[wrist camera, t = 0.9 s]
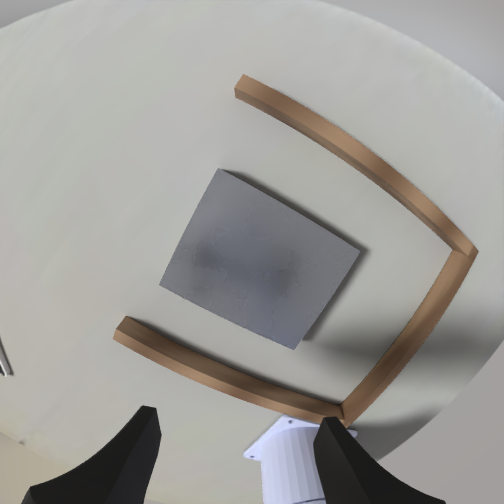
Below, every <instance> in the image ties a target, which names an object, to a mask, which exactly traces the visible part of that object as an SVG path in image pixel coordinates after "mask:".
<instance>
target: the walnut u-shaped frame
mask: <svg viewBox="0 0 504 504" xmlns="http://www.w3.org/2000/svg"><path fill="white" fill-rule="evenodd" d="M234 89H235V97H236V98H238V99H240V100H242V101H244V102H246V103H248V104H250V105H252V106H254V107H256V108H258V109H260V110H261V111H263V112H265V113H267V114H269V115H271V116H273V117H274V118H276V119H278V120H280V121H281V122H283V123H285V124H287V125H288V126H290V127H292V128H294V129H295V130H297V131H299V132H300V133H302V134H304V135H305V136H307V137H309V138H310V139H312V140H313V141H315V142H317V143H318V144H320V145H321V146H323V147H324V148H326V149H327V150H329V151H331V152H332V153H334V154H335V155H337V156H338V157H339V158H341V159H342V160H344V161H345V162H347V163H348V164H350V165H351V166H353V167H354V168H355V169H357V170H358V171H360V172H361V173H362V174H364V175H365V176H366V177H368V178H369V179H371V180H372V181H373V182H375V183H376V184H377V185H379V186H380V187H381V188H382V189H384V190H385V191H386V192H388V193H389V194H390V195H391V196H393V197H394V198H395V199H396V200H398V201H399V202H400V203H401V204H403V205H404V206H405V207H406V208H407V209H409V210H410V211H411V212H412V213H413V214H414V215H416V216H417V217H418V218H419V219H420V220H421V221H423V222H424V223H425V224H426V225H427V226H428V227H429V228H430V229H432V230H433V231H434V232H435V233H436V234H437V235H438V236H439V237H440V238H441V239H442V240H443V241H444V242H446V243H447V244H448V245H449V246H450V247H451V248H452V249H453V250H452V252H451V254H450V256H449V258H448V260H447V262H446V263H445V265H444V267H443V269H442V270H441V272H440V274H439V276H438V277H437V279H436V281H435V282H434V284H433V286H432V287H431V289H430V291H429V292H428V294H427V295H426V297H425V299H424V300H423V302H422V303H421V305H420V306H419V308H418V309H417V311H416V312H415V314H414V315H413V317H412V318H411V320H410V321H409V322H408V324H407V325H406V327H405V328H404V329H403V331H402V332H401V334H400V335H399V336H398V338H397V339H396V340H395V342H394V343H393V344H392V346H391V347H390V348H389V349H388V351H387V352H386V353H385V355H384V356H383V357H382V358H381V360H380V361H379V362H378V363H377V364H376V366H375V367H374V368H373V369H372V370H371V372H370V373H369V374H368V375H367V376H366V377H365V379H364V380H363V381H362V382H361V383H360V384H359V385H358V386H357V388H356V389H355V390H354V391H353V392H352V393H351V394H350V395H349V396H348V397H347V398H346V399H345V400H344V401H343V403H342V404H341V405H340V406H337V405H334V404H330V403H327V402H324V401H320V400H317V399H314V398H311V397H308V396H304V395H301V394H298V393H295V392H292V391H289V390H287V389H284V388H281V387H278V386H275V385H273V384H270V383H267V382H265V381H262V380H259V379H257V378H254V377H252V376H249V375H247V374H244V373H242V372H239V371H237V370H234V369H232V368H230V367H227V366H225V365H223V364H220V363H218V362H216V361H214V360H211V359H209V358H207V357H205V356H202V355H200V354H198V353H196V352H194V351H192V350H190V349H188V348H186V347H184V346H181V345H179V344H177V343H175V342H173V341H171V340H169V339H168V338H166V337H164V336H162V335H160V334H158V333H156V332H154V331H152V330H150V329H149V328H147V327H145V326H143V325H141V324H139V323H138V322H136V321H134V320H132V319H131V318H129V317H127V316H126V317H125V318H124V319H123V321H122V322H121V323H120V324H119V326H118V327H117V328H116V331H115V333H114V336H113V339H114V340H116V341H117V342H119V343H121V344H123V345H124V346H126V347H128V348H130V349H131V350H133V351H135V352H137V353H139V354H141V355H143V356H144V357H146V358H148V359H150V360H152V361H154V362H156V363H158V364H160V365H162V366H164V367H166V368H168V369H170V370H172V371H174V372H177V373H179V374H181V375H183V376H185V377H187V378H190V379H192V380H194V381H196V382H199V383H201V384H203V385H206V386H208V387H211V388H213V389H215V390H218V391H220V392H223V393H226V394H228V395H231V396H233V397H236V398H239V399H241V400H244V401H247V402H250V403H253V404H256V405H259V406H262V407H265V408H268V409H271V410H274V411H277V412H280V413H284V414H287V415H290V416H294V417H297V418H301V419H305V420H309V421H312V422H316V423H320V424H321V422H322V419H323V417H333V416H337V417H338V419H339V420H340V421H341V423H342V424H343V425H344V426H345V428H347V427H348V426H349V425H351V424H352V423H353V422H354V421H355V420H356V419H357V418H358V417H359V416H360V415H361V414H362V413H363V412H364V411H365V410H366V409H367V408H368V407H369V406H370V405H371V404H372V403H373V402H374V401H375V400H376V399H377V398H378V397H379V395H380V394H381V393H382V392H383V391H384V390H385V389H386V388H387V387H388V386H389V384H390V383H391V382H392V381H393V380H394V379H395V378H396V376H397V375H398V374H399V373H400V372H401V370H402V369H403V368H404V367H405V366H406V364H407V363H408V362H409V361H410V359H411V358H412V357H413V356H414V354H415V353H416V352H417V350H418V349H419V348H420V346H421V345H422V344H423V342H424V341H425V340H426V338H427V337H428V336H429V334H430V333H431V331H432V330H433V328H434V327H435V326H436V324H437V323H438V321H439V320H440V318H441V317H442V315H443V314H444V312H445V310H446V309H447V307H448V306H449V304H450V302H451V301H452V299H453V298H454V296H455V294H456V293H457V291H458V289H459V287H460V286H461V284H462V282H463V280H464V279H465V277H466V275H467V273H468V271H469V269H470V267H471V266H472V264H473V262H474V260H475V258H476V256H477V254H478V252H479V251H478V250H477V249H476V248H475V246H474V245H473V244H472V243H471V242H470V241H469V240H468V239H467V238H466V236H465V235H464V234H463V233H462V232H461V231H460V230H459V229H458V228H457V227H456V226H455V225H454V224H453V223H452V222H451V221H450V220H449V219H448V218H447V217H446V216H445V215H444V214H443V213H442V212H441V211H440V210H439V209H438V208H437V207H436V206H435V205H434V204H433V203H432V202H431V201H430V200H429V199H428V198H427V197H426V196H425V195H423V194H422V193H421V192H420V191H419V190H418V189H417V188H416V187H414V186H413V185H412V184H411V183H410V182H409V181H408V180H406V179H405V178H404V177H403V176H402V175H401V174H399V173H398V172H397V171H396V170H394V169H393V168H392V167H391V166H390V165H388V164H387V163H386V162H384V161H383V160H382V159H381V158H379V157H378V156H377V155H375V154H374V153H373V152H372V151H370V150H369V149H367V148H366V147H365V146H363V145H362V144H361V143H359V142H358V141H356V140H355V139H354V138H352V137H351V136H349V135H348V134H347V133H345V132H344V131H342V130H341V129H339V128H338V127H336V126H335V125H333V124H332V123H330V122H329V121H327V120H325V119H324V118H322V117H321V116H319V115H318V114H316V113H314V112H313V111H311V110H309V109H308V108H306V107H304V106H303V105H301V104H299V103H298V102H296V101H294V100H292V99H291V98H289V97H287V96H285V95H283V94H282V93H280V92H278V91H276V90H274V89H272V88H270V87H268V86H266V85H264V84H263V83H261V82H259V81H257V80H255V79H252V78H250V77H248V76H246V75H244V74H243V75H242V77H241V78H240V80H239V81H238V83H237V84H236V86H235V87H234Z"/></svg>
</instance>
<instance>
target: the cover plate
mask: <svg viewBox="0 0 504 504" xmlns="http://www.w3.org/2000/svg"><path fill="white" fill-rule="evenodd" d="M360 252H361V251H359V250H358V249H356V248H355V247H353V246H352V245H350V244H348V243H347V242H345V241H344V240H342V239H341V238H339V237H337V236H336V235H334V234H333V233H331V232H329V231H328V230H326V229H324V228H323V227H321V226H320V225H318V224H316V223H315V222H313V221H311V220H310V219H308V218H306V217H305V216H303V215H301V214H300V213H298V212H296V211H295V210H293V209H291V208H290V207H288V206H286V205H284V204H283V203H281V202H279V201H277V200H276V199H274V198H272V197H270V196H269V195H267V194H265V193H263V192H262V191H260V190H258V189H256V188H255V187H253V186H251V185H249V184H247V183H245V182H244V181H242V180H240V179H238V178H236V177H234V176H233V175H231V174H229V173H227V172H225V171H223V170H221V169H219V168H218V169H217V171H216V173H215V174H214V176H213V178H212V180H211V182H210V184H209V185H208V187H207V189H206V191H205V193H204V195H203V197H202V198H201V200H200V202H199V204H198V206H197V208H196V210H195V212H194V214H193V216H192V218H191V220H190V222H189V224H188V225H187V227H186V229H185V231H184V233H183V235H182V237H181V239H180V242H179V244H178V246H177V248H176V250H175V252H174V254H173V256H172V258H171V260H170V262H169V264H168V267H167V269H166V271H165V273H164V275H163V277H162V279H161V282H160V284H159V285H160V286H162V287H164V288H166V289H168V290H170V291H171V292H173V293H175V294H177V295H179V296H181V297H183V298H185V299H187V300H189V301H190V302H192V303H194V304H196V305H198V306H200V307H202V308H204V309H206V310H208V311H210V312H212V313H214V314H216V315H218V316H220V317H222V318H224V319H227V320H229V321H231V322H233V323H235V324H237V325H239V326H241V327H243V328H246V329H248V330H250V331H252V332H254V333H256V334H259V335H261V336H263V337H265V338H268V339H270V340H272V341H274V342H277V343H279V344H281V345H283V346H286V347H288V348H291V349H293V350H294V349H295V348H296V347H297V345H298V344H299V342H300V341H301V340H302V338H303V337H304V336H305V334H306V333H307V332H308V330H309V329H310V327H311V326H312V325H313V323H314V322H315V320H316V319H317V318H318V316H319V315H320V313H321V312H322V310H323V309H324V307H325V306H326V305H327V303H328V302H329V300H330V299H331V297H332V296H333V294H334V293H335V291H336V290H337V288H338V287H339V285H340V283H341V282H342V280H343V279H344V277H345V276H346V274H347V273H348V271H349V269H350V268H351V266H352V265H353V263H354V261H355V260H356V258H357V257H358V255H359V253H360Z"/></svg>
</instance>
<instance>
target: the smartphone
mask: <svg viewBox="0 0 504 504" xmlns="http://www.w3.org/2000/svg"><path fill="white" fill-rule="evenodd" d="M9 373H10V369H9V367H8V365H7V362H6V360H5V357H4V354H3V352H2V349H1V346H0V374H1V375H3V376H5V377H6V376H7V375H8V374H9Z"/></svg>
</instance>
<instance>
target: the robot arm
mask: <svg viewBox="0 0 504 504" xmlns="http://www.w3.org/2000/svg"><path fill="white" fill-rule="evenodd" d="M290 420H291V421H290ZM357 435H358V433H357V431H354V430H349V429H346V428H345V426H344V425H343V424H342V423H341V421H340V420H339V419H338V417H337V416H333V417H323V419H322V422H321V424H320V423H316V422H312V421H309V420H305V419H301V418H297V417H294V416H290V415H287V414H286V415H283V416H282V417H281V418H280V419H279V420H278V421H277V422H276V423H275V424H274V425H273V426H272V427H271V428H270V429H269V430H268V431H267V432H265V433H264V434H263V435H262V436H261V437H260V438H259V439H258V440H257V441H256V442H255V443H254V444H253V445H252V446H251V447H249V448H248V449H247V450H246V451H245V452H244V457H246V458H249V459H253V460H257V461H261V473H262V489H263V504H446V503H445V501H443V500H440V499H437V498H435V497H432V496H429V495H426V494H424V493H422V492H420V491H418V490H416V489H414V488H412V487H410V486H409V485H407V484H405V483H404V482H402V481H400V480H399V479H397V478H396V477H394V476H393V475H392V474H390V473H389V472H388V471H386V470H385V469H384V468H383V467H382V466H380V465H379V464H378V463H377V462H376V461H375V460H374V459H373V458H372V457H371V456H370V455H369V454H368V453H367V452H366V451H365V450H364V449H363V448H362V447H361V445H360V444H359V443H358V442H357V441H356V440H355V439H354V438H355V437H356V436H357ZM160 441H161V430H160V425H159V420H158V415H157V410H156V408H154V407H149V406H141V407H140V408H139V410H138V411H137V412H136V413H135V415H134V416H133V417H132V418H131V419H130V421H129V422H128V423H127V424H126V425H125V426H124V427H123V428H122V429H121V430H120V432H119V433H118V434H117V435H116V436H115V437H114V438H113V439H112V440H111V441H110V442H108V443H107V444H106V445H105V446H104V447H103V448H102V449H101V450H100V451H98V452H97V453H96V454H95V455H93V456H92V457H91V458H89V459H88V460H87V461H85V462H84V463H82V464H80V465H79V466H77V467H76V468H74V469H72V470H71V471H69V472H67V473H65V474H63V475H61V476H59V477H57V478H54V479H52V480H49V481H46V482H44V483H40V484H38V485H34V486H31V487H30V488H29V490H28V491H27V493H26V495H25V497H24V499H23V501H22V503H21V504H143V503H144V498H145V494H146V490H147V487H148V484H149V480H150V477H151V474H152V471H153V468H154V465H155V462H156V459H157V456H158V452H159V446H160Z"/></svg>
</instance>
